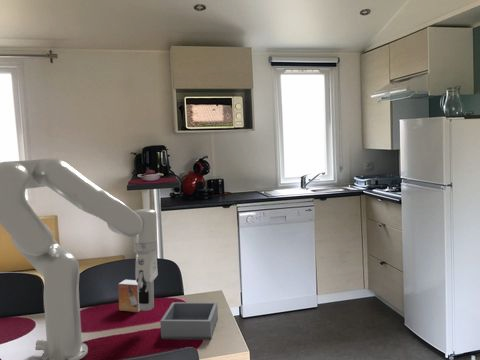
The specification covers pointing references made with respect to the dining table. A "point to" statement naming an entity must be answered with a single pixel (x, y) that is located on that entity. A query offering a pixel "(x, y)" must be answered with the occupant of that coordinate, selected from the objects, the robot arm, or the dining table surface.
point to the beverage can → (151, 298)
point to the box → (189, 321)
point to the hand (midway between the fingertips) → (146, 299)
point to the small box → (128, 296)
